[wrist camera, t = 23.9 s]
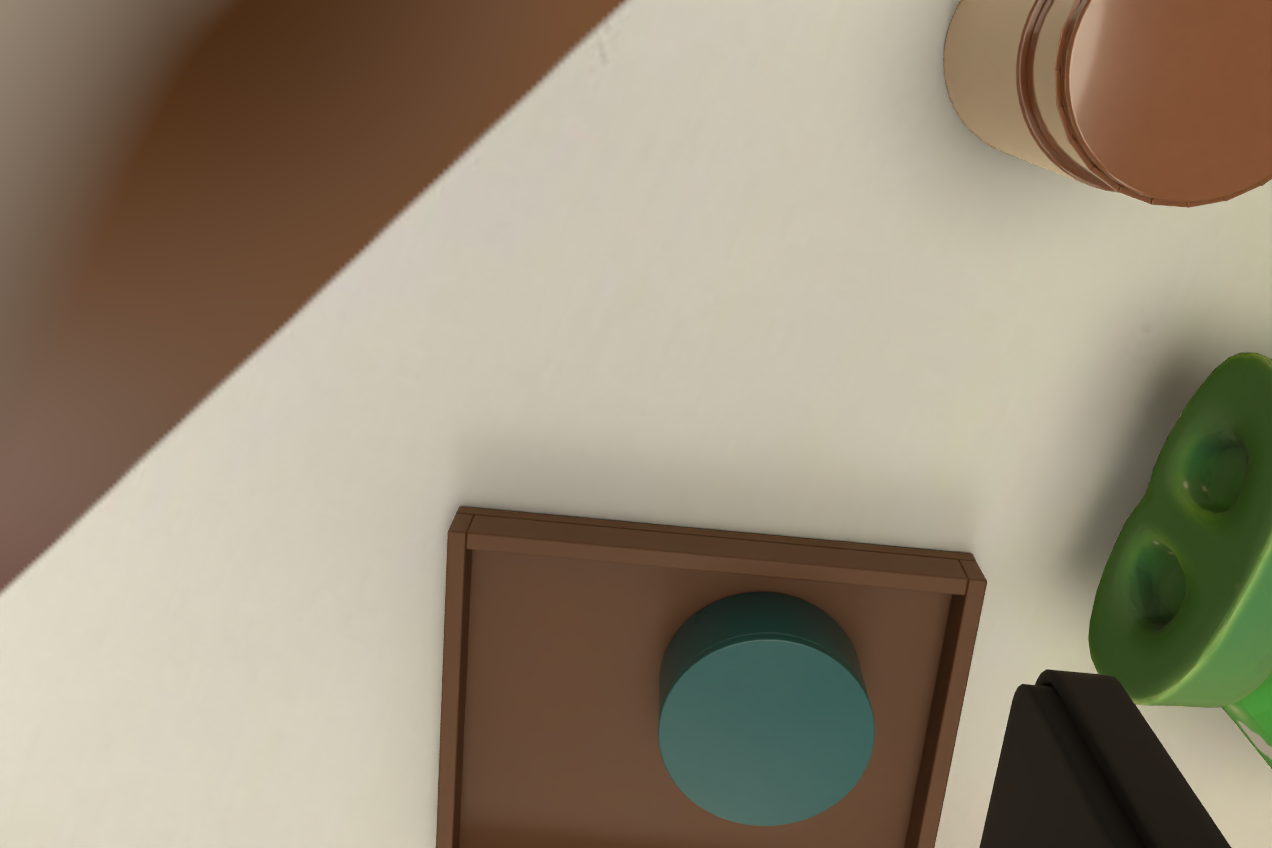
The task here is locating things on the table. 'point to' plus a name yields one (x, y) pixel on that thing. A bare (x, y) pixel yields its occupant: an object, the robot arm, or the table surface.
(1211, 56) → the jar
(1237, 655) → the piggy bank
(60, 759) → the table surface
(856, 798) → the tray
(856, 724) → the jar lid
